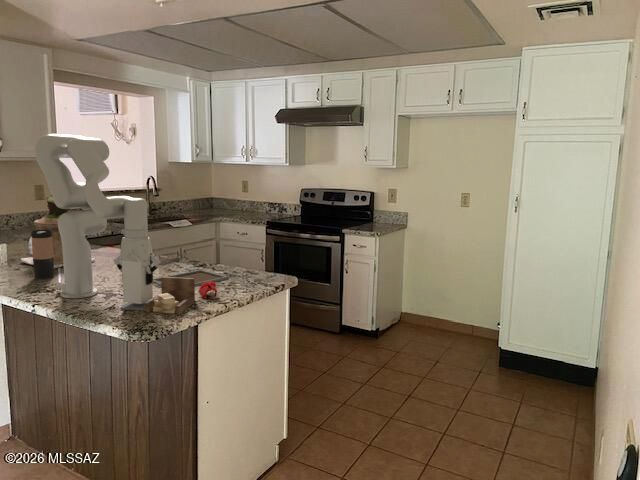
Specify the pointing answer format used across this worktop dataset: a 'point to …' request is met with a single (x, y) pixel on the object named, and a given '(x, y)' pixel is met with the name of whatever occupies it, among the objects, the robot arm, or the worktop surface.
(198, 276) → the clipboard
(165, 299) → the offcut top
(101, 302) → the worktop surface
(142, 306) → the pad
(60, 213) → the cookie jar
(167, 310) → the offcut low
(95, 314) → the worktop surface
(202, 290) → the red rounded piece
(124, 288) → the milk carton
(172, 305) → the offcut mid
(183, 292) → the rack
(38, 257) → the travel mug
